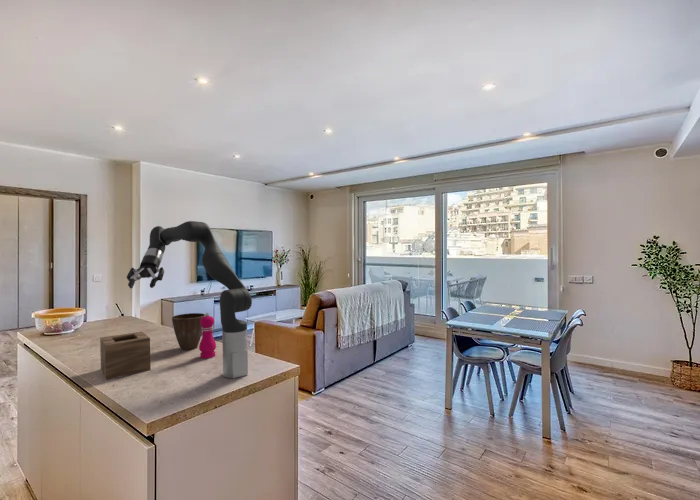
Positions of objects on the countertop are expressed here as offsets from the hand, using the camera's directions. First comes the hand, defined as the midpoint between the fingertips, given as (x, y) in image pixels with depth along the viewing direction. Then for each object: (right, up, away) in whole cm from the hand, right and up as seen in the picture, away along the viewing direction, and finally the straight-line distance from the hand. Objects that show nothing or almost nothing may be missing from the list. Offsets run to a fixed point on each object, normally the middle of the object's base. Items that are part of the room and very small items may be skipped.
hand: (140, 287), depth 152 cm
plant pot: (+12, -33, +20) cm, 40 cm away
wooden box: (0, -33, -10) cm, 34 cm away
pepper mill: (+27, -33, +7) cm, 43 cm away
